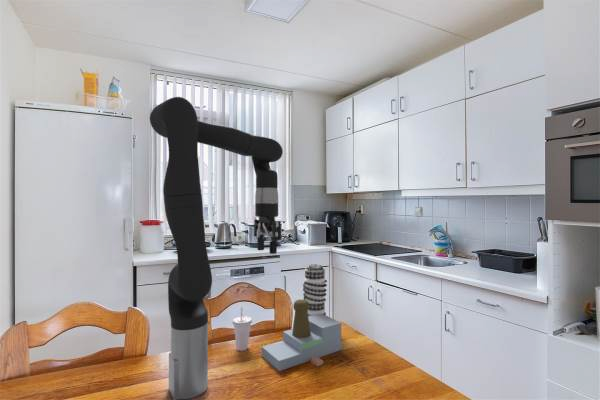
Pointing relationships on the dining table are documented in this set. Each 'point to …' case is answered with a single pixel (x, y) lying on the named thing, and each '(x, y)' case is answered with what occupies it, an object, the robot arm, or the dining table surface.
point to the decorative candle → (315, 289)
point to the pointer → (316, 361)
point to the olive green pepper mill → (301, 319)
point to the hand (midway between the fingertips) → (266, 251)
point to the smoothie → (242, 331)
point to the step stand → (305, 343)
